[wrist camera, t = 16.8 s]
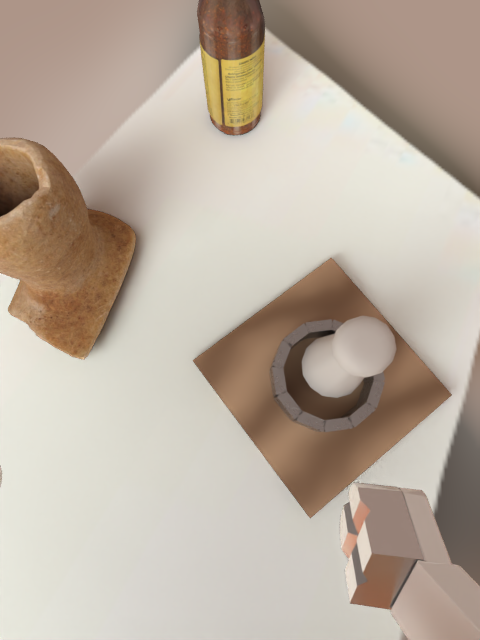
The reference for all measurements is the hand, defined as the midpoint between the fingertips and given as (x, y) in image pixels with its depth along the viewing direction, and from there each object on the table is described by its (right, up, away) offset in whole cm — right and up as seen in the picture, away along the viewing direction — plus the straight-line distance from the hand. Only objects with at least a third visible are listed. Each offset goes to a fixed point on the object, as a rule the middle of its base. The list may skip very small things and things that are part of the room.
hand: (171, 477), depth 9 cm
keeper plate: (+10, -2, +32) cm, 33 cm away
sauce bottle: (+1, +28, +40) cm, 49 cm away
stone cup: (-16, +8, +34) cm, 39 cm away
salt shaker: (+10, -1, +31) cm, 33 cm away
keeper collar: (+10, -2, +32) cm, 33 cm away
